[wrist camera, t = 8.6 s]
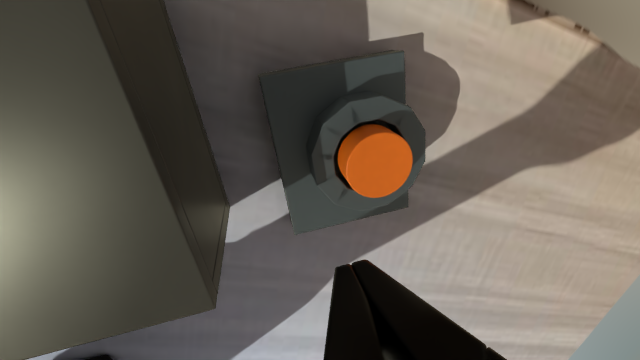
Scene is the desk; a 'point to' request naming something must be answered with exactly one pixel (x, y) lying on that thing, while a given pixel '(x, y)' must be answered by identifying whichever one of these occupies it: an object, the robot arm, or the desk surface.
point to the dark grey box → (100, 176)
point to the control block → (336, 133)
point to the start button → (375, 160)
